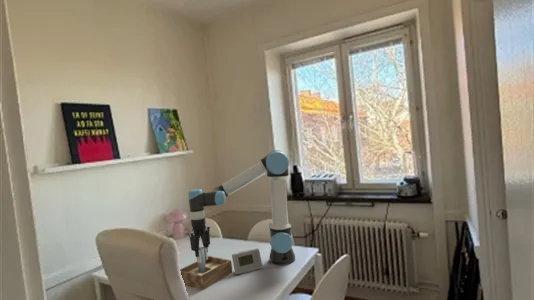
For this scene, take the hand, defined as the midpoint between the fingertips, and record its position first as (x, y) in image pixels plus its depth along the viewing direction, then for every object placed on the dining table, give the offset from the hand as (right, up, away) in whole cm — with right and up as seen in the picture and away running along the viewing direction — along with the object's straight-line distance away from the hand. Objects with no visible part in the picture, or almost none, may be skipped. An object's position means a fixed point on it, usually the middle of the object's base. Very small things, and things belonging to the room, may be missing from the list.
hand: (202, 260), depth 175 cm
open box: (+2, -9, -1) cm, 10 cm away
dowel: (0, -7, +1) cm, 7 cm away
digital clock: (+25, -7, +4) cm, 26 cm away
